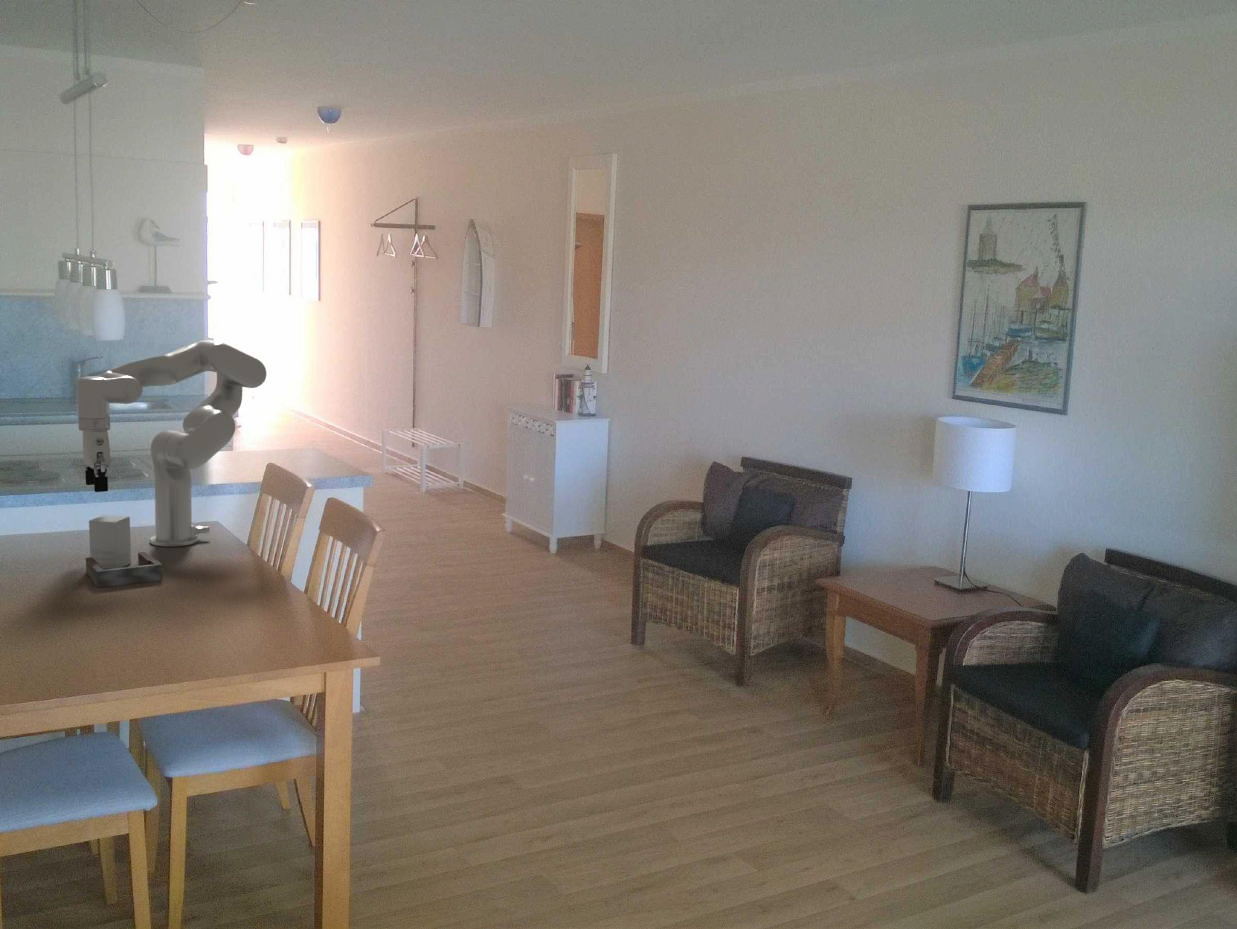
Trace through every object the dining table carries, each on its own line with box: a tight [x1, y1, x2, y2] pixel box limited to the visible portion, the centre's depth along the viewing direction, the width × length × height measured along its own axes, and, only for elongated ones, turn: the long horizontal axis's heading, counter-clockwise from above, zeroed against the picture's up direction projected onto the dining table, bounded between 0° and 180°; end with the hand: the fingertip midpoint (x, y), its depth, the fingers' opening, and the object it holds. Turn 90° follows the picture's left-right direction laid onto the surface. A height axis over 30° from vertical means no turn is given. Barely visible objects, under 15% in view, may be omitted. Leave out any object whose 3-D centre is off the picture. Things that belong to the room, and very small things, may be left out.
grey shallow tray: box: [85, 551, 164, 588], centre depth 281 cm, size 15×14×4 cm
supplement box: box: [88, 514, 132, 570], centre depth 290 cm, size 7×7×13 cm
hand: (96, 488), depth 297 cm, fingers open, 9 cm apart
